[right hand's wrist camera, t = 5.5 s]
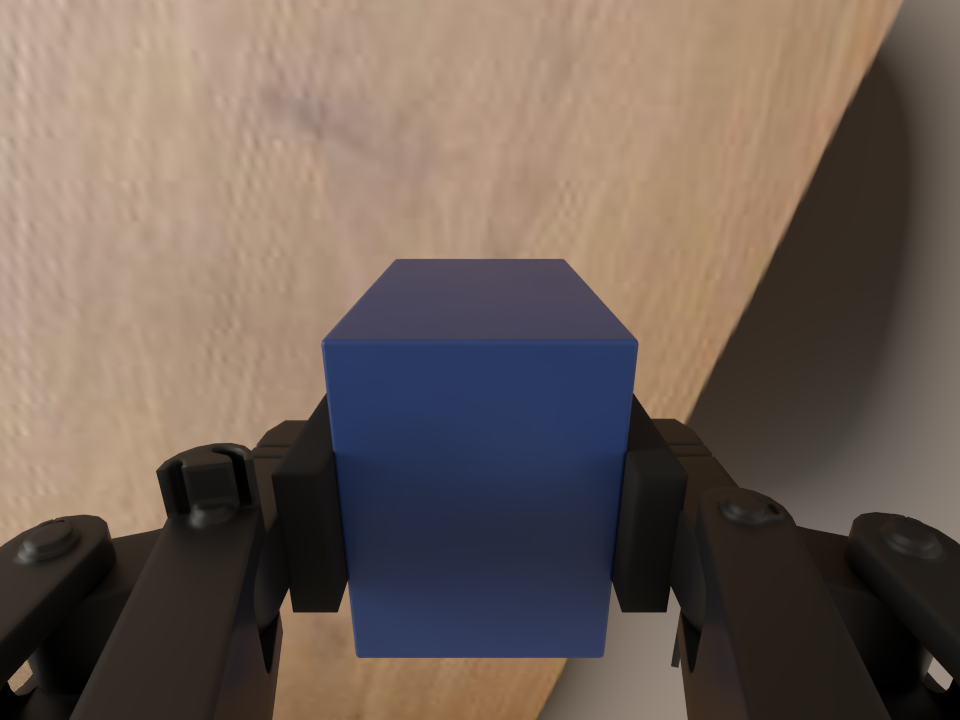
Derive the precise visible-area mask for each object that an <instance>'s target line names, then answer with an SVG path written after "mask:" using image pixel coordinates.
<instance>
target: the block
mask: <svg viewBox="0 0 960 720" xmlns="http://www.w3.org/2000/svg"><path fill="white" fill-rule="evenodd" d="M321 345H322V354H323V363H324V372H325V381H326V390H327V399H328V408H329V417H330V426H331V435H332V444H333V451H334V460H335V469H336V478H337V487H338V496H339V505H340V514H341V523H342V532H343V541H344V550H345V559H346V568H347V577H348V587H349V596H350V605H351V614H352V623H353V632H354V641H355V650H356V656H357V657H359V658H601V657H603V655H604V648H605V639H606V630H607V621H608V612H609V603H610V594H611V585H612V575H613V566H614V557H615V548H616V539H617V530H618V521H619V512H620V503H621V494H622V485H623V476H624V467H625V458H626V450H627V442H628V433H629V424H630V415H631V406H632V397H633V388H634V379H635V370H636V361H637V352H638V341H637V339H636V338H635V337H634V336H633V335H632V334H631V333H630V332H629V331H628V330H627V328H626V327H625V326H624V325H623V324H622V323H621V322H620V321H619V320H618V318H617V317H616V316H615V315H614V314H613V313H612V312H611V311H610V310H609V308H608V307H607V306H606V305H605V304H604V303H603V302H602V301H601V300H600V299H599V297H598V296H597V295H596V294H595V293H594V292H593V291H592V290H591V289H590V287H589V286H588V285H587V284H586V283H585V282H584V281H583V280H582V279H581V277H580V276H579V275H578V274H577V273H576V272H575V271H574V270H573V269H572V267H571V266H570V265H569V264H568V263H567V262H566V261H565V260H564V259H396V260H395V261H394V262H393V263H392V264H391V265H390V266H389V267H388V268H387V270H386V271H385V272H384V273H383V274H382V275H381V276H380V277H379V278H378V280H377V281H376V282H375V283H374V284H373V285H372V286H371V287H370V288H369V289H368V291H367V292H366V293H365V294H364V295H363V296H362V297H361V298H360V299H359V301H358V302H357V303H356V304H355V305H354V306H353V307H352V308H351V309H350V310H349V312H348V313H347V314H346V315H345V316H344V317H343V318H342V319H341V320H340V322H339V323H338V324H337V325H336V326H335V327H334V328H333V329H332V330H331V332H330V333H329V334H328V335H327V336H326V337H325V338H324V339H323V341H322V344H321Z"/></svg>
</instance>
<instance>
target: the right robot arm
mask: <svg viewBox="0 0 960 720" xmlns="http://www.w3.org/2000/svg"><path fill="white" fill-rule="evenodd" d="M156 473H157V477H158V481H159V485H160V489H161V493H162V497H163V501H164V505H165V509H166V513H167V517H168V519H167V521H166V523H165V525H164V527H163V528H162V529H158V530H154V531H149V532H144V533H139V534H134V535H129V536H124V537H119V538H114V539H111V535H110V532H109V529H108V525H107V522H105V521H104V520H103V519H101V518H100V517H98V516H91V515H76V516H65V517H60V518H56V519H55V520H53V519H52V520H49V521H46V522H43V523H41V524H39V525H38V526H36V527H33V528H31V529H29V530H27V531H24V532H22V533H21V534H19V535H18V536H16V537H15V538H13V539H12V540H10V541H9V542H7V543H5V544H4V545H3V546H2V547H0V720H272V718H273V709H274V701H275V693H276V685H277V677H278V668H279V660H280V652H281V644H282V636H283V629H282V622H281V616H280V610H279V609H280V607H281V604H282V602H283V600H284V598H285V596H286V593H287V591H288V589H290V595H291V602H292V608H293V612H338V610H339V606H340V603H341V600H342V597H343V594H344V591H345V588H346V584H347V581H348V577H347V568H346V559H345V550H344V541H343V532H342V523H341V514H340V505H339V496H338V487H337V478H336V469H335V460H334V451H333V444H332V435H331V426H330V417H329V408H328V399H327V393H326V394H325V396H324V397H323V399H322V400H321V402H320V403H319V405H318V406H317V408H316V409H315V411H314V412H313V414H312V415H311V417H310V418H309V420H285V421H284V422H282V423H281V424H279V425H277V426H276V427H274V428H272V429H271V430H269V431H267V432H266V434H265V435H264V436H263V437H262V439H261V440H260V441H259V442H258V444H257V447H254V449H253V450H252V451H251V450H249V449H248V448H247V447H245V446H243V445H238V444H234V443H215V444H210V445H205V446H199V447H195V448H193V449H190V450H187V451H184V452H181V453H179V454H177V455H176V456H174V457H172V458H170V459H169V460H167V461H165V462H164V463H163V464H162V465H161V466H160V467H159V468H158V469H157V470H156ZM612 582H613V585H614V589H615V592H616V595H617V598H618V601H619V604H620V608H621V611H622V612H666V611H667V605H668V599H669V593H670V587H672V589H673V591H674V594H675V596H676V598H677V600H678V602H679V605H680V607H681V611H680V616H679V622H678V628H677V634H676V639H675V645H674V651H673V657H672V664H671V666H672V667H677V668H678V666H679V661H680V659H681V667H682V675H683V683H684V691H685V700H686V708H687V716H688V720H960V544H958V543H957V542H956V541H954V540H953V539H951V538H950V537H948V536H947V535H945V534H944V533H942V532H940V531H939V530H937V529H935V528H933V527H930V526H928V525H926V524H924V523H922V522H920V521H919V520H916V519H913V518H910V517H907V518H906V517H905V516H902V515H898V514H888V513H879V512H873V513H866V514H861V515H860V516H858V517H857V518H856V519H854V520H853V524H852V527H851V530H850V534H849V537H848V536H843V535H838V534H833V533H828V532H822V531H817V530H812V529H807V528H804V527H799V526H796V524H795V522H794V520H793V518H792V516H791V515H790V514H789V513H788V511H787V510H786V509H785V508H784V507H783V506H782V505H780V504H779V503H777V502H776V501H774V500H773V499H771V498H770V497H767V496H765V495H763V494H760V493H758V492H755V491H753V490H748V489H744V488H739V487H738V485H737V484H736V483H735V482H734V480H733V479H732V478H731V477H730V475H729V474H728V473H727V472H726V470H725V469H724V468H723V467H722V466H721V464H720V463H719V462H718V461H717V459H716V458H715V457H712V453H711V452H710V451H709V449H708V448H707V447H706V446H704V445H703V442H702V441H701V439H700V438H699V437H698V436H697V434H696V433H695V432H694V431H693V430H692V429H690V428H689V427H687V426H685V425H684V424H682V423H681V422H679V421H677V420H676V419H650V417H649V416H648V414H647V413H646V411H645V410H644V408H643V407H642V405H641V404H640V402H639V401H638V399H637V398H636V396H635V395H634V393H633V397H632V406H631V415H630V424H629V433H628V442H627V450H626V458H625V467H624V476H623V485H622V494H621V503H620V512H619V521H618V530H617V539H616V548H615V557H614V566H613V575H612ZM933 657H934V658H935V659H936V660H937V661H938V662H939V663H940V664H941V665H942V666H943V668H944V669H945V670H946V671H947V672H948V673H949V674H950V675H951V676H952V677H953V680H952V683H951V685H950V687H949V688H948V689H947V690H945V689H944V688H942V687H941V686H940V685H939V684H938V683H937V682H936V681H935V680H934V679H933V677H932V676H931V675H930V674H929V673H928V672H927V671H928V669H929V666H930V664H931V662H932V659H933ZM26 660H28V663H29V665H30V668H31V670H32V673H33V674H32V676H31V677H30V678H29V679H28V680H27V681H26V682H25V684H24V685H23V686H21V687H20V688H19V689H18V690H17V691H15V692H13V691H12V690H11V688H10V686H9V684H8V680H9V679H10V678H11V677H12V675H13V674H14V673H15V672H16V671H17V670H18V669H19V668H20V667H21V666H22V665H23V663H24V662H25V661H26Z"/></svg>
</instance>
